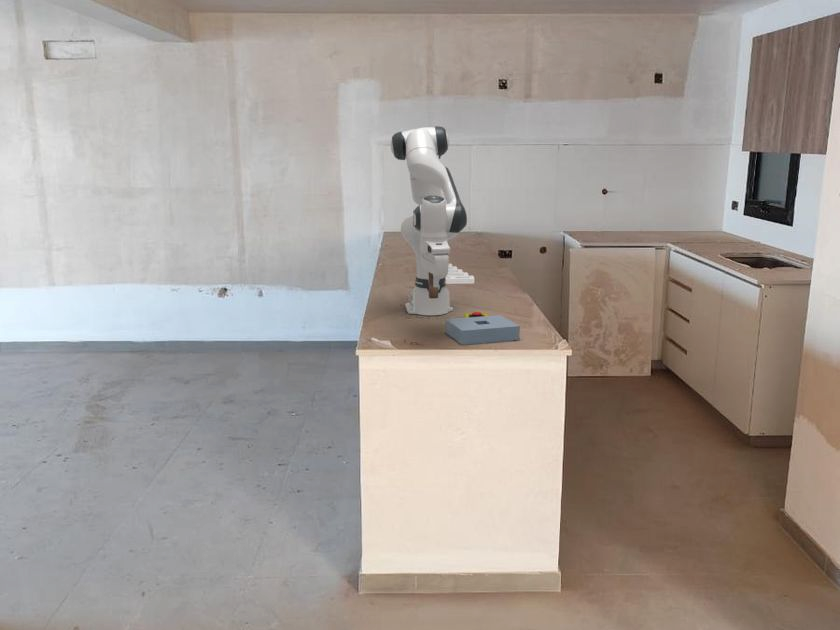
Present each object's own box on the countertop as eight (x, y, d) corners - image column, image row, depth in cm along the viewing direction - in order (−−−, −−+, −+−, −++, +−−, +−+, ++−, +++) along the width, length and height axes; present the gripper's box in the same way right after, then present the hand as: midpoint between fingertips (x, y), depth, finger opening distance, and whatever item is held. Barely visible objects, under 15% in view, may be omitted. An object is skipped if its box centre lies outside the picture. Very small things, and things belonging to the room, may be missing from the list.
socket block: (445, 332, 264) (445, 319, 263) (500, 328, 270) (500, 315, 268) (461, 345, 248) (462, 330, 247) (519, 340, 254) (519, 326, 253)
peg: (427, 296, 252) (427, 270, 250) (436, 296, 253) (436, 270, 251) (430, 298, 249) (430, 272, 247) (439, 298, 250) (439, 272, 248)
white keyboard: (434, 268, 397) (434, 263, 396) (468, 268, 397) (468, 263, 396) (436, 284, 353) (437, 279, 353) (474, 284, 353) (474, 279, 353)
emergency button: (488, 309, 282) (490, 318, 268) (488, 320, 283) (489, 330, 269) (464, 309, 283) (464, 318, 268) (464, 320, 284) (464, 330, 269)
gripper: (416, 241, 256) (416, 280, 259) (433, 249, 237) (433, 292, 240) (433, 240, 258) (433, 279, 261) (452, 249, 239) (451, 290, 242)
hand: (433, 285), depth 250 cm, fingers closed on peg, 3 cm apart
